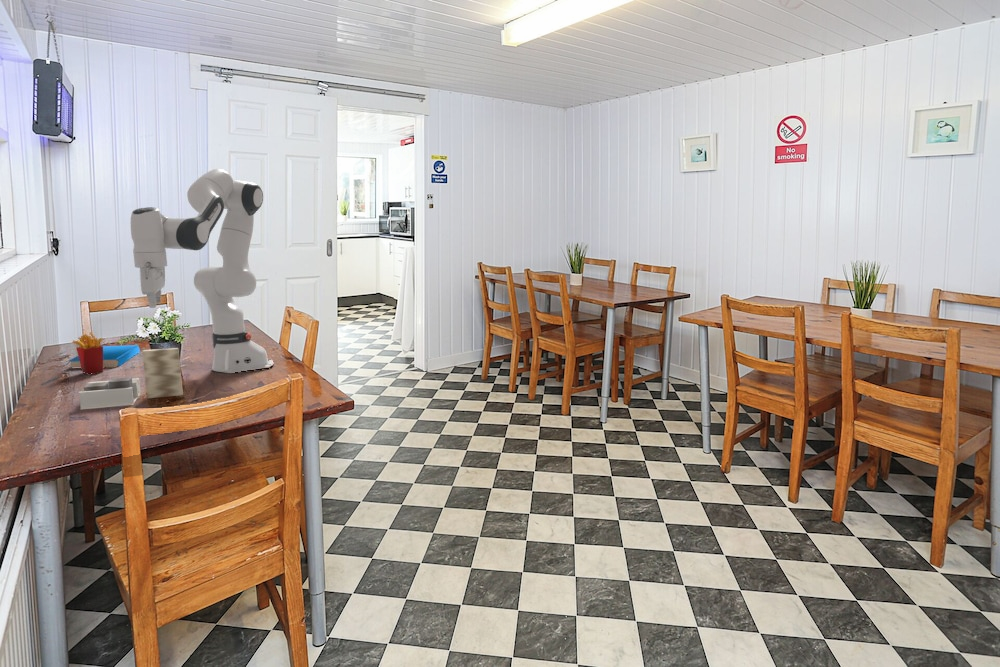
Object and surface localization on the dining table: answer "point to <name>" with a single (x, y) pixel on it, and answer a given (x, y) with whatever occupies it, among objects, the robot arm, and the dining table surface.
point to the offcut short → (96, 386)
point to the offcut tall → (120, 383)
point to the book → (113, 355)
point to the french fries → (90, 354)
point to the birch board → (162, 372)
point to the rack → (110, 396)
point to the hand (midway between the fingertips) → (155, 305)
